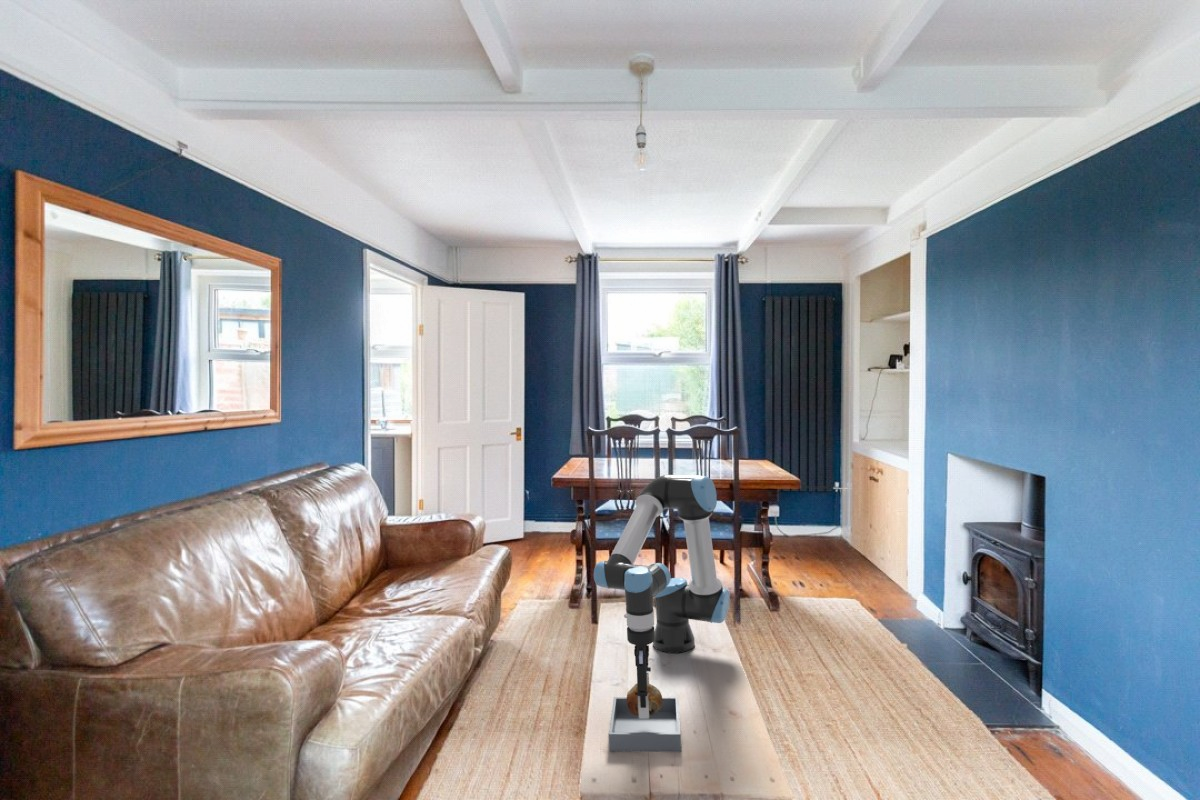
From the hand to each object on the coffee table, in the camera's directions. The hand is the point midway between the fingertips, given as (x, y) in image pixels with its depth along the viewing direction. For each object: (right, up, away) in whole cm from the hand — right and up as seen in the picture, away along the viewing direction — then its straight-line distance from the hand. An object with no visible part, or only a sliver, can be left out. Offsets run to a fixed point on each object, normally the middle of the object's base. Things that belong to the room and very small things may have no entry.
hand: (644, 706), depth 163 cm
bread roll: (0, -1, 0) cm, 1 cm away
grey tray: (0, -7, 0) cm, 7 cm away
